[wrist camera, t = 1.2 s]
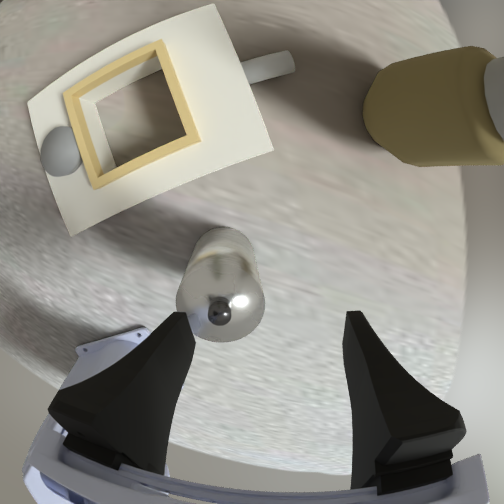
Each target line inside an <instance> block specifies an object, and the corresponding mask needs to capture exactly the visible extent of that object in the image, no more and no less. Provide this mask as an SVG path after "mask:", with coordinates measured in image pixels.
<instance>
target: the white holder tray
mask: <svg viewBox="0 0 504 504" xmlns="http://www.w3.org/2000/svg"><path fill="white" fill-rule="evenodd" d="M161 69H163V72H164V75H165V78H166V80H167V83H168V86H169V89H170V91H171V94H172V97H173V99H174V102H175V105H176V108H177V110H178V113H179V116H180V118H181V121H182V124H183V126H184V129H185V132H186V134H187V135H186V136H184V137H181V138H179V139H177V140H174V141H172V142H170V143H167V144H165V145H163V146H161V147H158V148H156V149H154V150H152V151H150V152H148V153H145V154H143V155H141V156H139V157H137V158H135V159H133V160H131V161H129V162H127V163H125V164H123V165H121V166H119V167H117V166H116V164H115V161H114V158H113V156H112V153H111V150H110V147H109V144H108V141H107V139H106V136H105V133H104V130H103V127H102V124H101V120H100V117H99V114H98V111H97V108H96V104H95V103H96V102H98V101H100V100H102V99H103V98H105V97H107V96H109V95H110V94H112V93H114V92H116V91H118V90H120V89H122V88H123V87H125V86H127V85H129V84H131V83H133V82H135V81H137V80H139V79H141V78H143V77H146V76H148V75H150V74H152V73H154V72H156V71H159V70H161ZM293 72H295V64H294V60H293V58H292V56H291V54H290V52H289V51H287V50H286V51H282V52H277V53H273V54H269V55H265V56H261V57H258V58H254V59H250V60H247V61H243V62H240V61H239V58H238V56H237V54H236V51H235V49H234V47H233V44H232V42H231V40H230V37H229V35H228V33H227V31H226V28H225V26H224V24H223V22H222V19H221V17H220V15H219V13H218V11H217V8H216V6H215V4H214V3H213V4H210V5H206V6H203V7H200V8H197V9H194V10H191V11H188V12H185V13H182V14H180V15H177V16H174V17H172V18H169V19H167V20H164V21H162V22H159V23H157V24H154V25H152V26H150V27H148V28H145V29H143V30H141V31H139V32H137V33H135V34H133V35H131V36H128V37H126V38H124V39H123V40H121V41H119V42H117V43H115V44H113V45H111V46H109V47H107V48H106V49H104V50H102V51H100V52H99V53H97V54H95V55H94V56H92V57H90V58H89V59H87V60H85V61H84V62H82V63H81V64H79V65H77V66H76V67H74V68H73V69H71V70H70V71H68V72H67V73H65V74H64V75H63V76H61V77H60V78H58V79H57V80H55V81H54V82H53V83H51V84H50V85H49V86H47V87H46V88H45V89H43V90H42V91H41V92H40V93H38V94H37V95H36V96H35V97H33V98H32V99H31V100H30V101H28V102H27V103H28V108H29V113H30V117H31V122H32V126H33V130H34V134H35V138H36V141H37V145H38V149H39V152H40V156H41V163H42V166H43V168H44V169H45V172H46V175H47V178H48V181H49V184H50V186H51V189H52V192H53V195H54V197H55V200H56V203H57V205H58V208H59V210H60V213H61V216H62V218H63V220H64V223H65V225H66V228H67V230H68V232H69V235H70V237H72V236H74V235H76V234H78V233H80V232H82V231H83V230H85V229H87V228H89V227H91V226H93V225H95V224H97V223H99V222H101V221H103V220H105V219H107V218H109V217H111V216H113V215H115V214H117V213H119V212H121V211H123V210H126V209H128V208H130V207H132V206H134V205H136V204H138V203H141V202H143V201H145V200H147V199H149V198H152V197H154V196H156V195H158V194H161V193H163V192H165V191H168V190H170V189H172V188H175V187H177V186H179V185H182V184H184V183H187V182H189V181H192V180H194V179H196V178H199V177H202V176H204V175H207V174H209V173H212V172H214V171H217V170H220V169H222V168H225V167H228V166H230V165H233V164H236V163H238V162H241V161H244V160H247V159H250V158H253V157H255V156H258V155H261V154H264V153H267V152H270V151H273V150H274V149H273V146H272V143H271V140H270V138H269V135H268V132H267V129H266V127H265V124H264V121H263V119H262V116H261V113H260V111H259V108H258V106H257V103H256V100H255V98H254V95H253V93H252V90H251V88H250V85H249V84H252V83H256V82H259V81H263V80H266V79H270V78H274V77H277V76H281V75H285V74H289V73H293Z"/></svg>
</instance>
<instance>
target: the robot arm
mask: <svg viewBox="0 0 504 504" xmlns="http://www.w3.org/2000/svg"><path fill="white" fill-rule="evenodd" d="M137 333H140V334H141V335H138V334H137ZM195 344H196V342H195V339H194V336H193V333H192V330H191V327H190V324H189V321H188V318H187V314H186V312H173V313H172V314H171V315H170V316H169V317H168V318H167V319H166V320H165V321H164V322H163V323H161V324H160V325H159V326H158V327H157V328H156V329H155V330H154V331H153V332H152V333H151V334H150V332H149V330H148V329H146V328H144V327H142V328H138V329H135V330H132V331H128V332H125V333H122V334H118V335H115V336H111V337H108V338H105V339H101V340H98V341H94V342H91V343H87V344H83V345H80V346H77V347H76V348H75V351H76V353H77V354H78V356H79V358H78V360H77V361H76V363H75V364H74V366H73V367H72V369H71V371H70V372H69V374H68V376H67V377H66V379H65V380H64V382H63V384H62V385H61V387H60V389H59V391H58V392H57V394H56V396H55V397H54V399H53V401H52V402H51V404H50V406H49V408H48V411H49V414H48V415H47V417H46V418H45V420H44V422H43V423H42V425H41V427H40V429H39V431H38V432H37V434H36V436H35V438H34V440H33V442H32V444H31V447H30V449H29V451H28V455H27V457H26V459H25V462H24V464H23V468H22V472H23V481H24V483H25V485H26V487H27V488H28V490H29V492H30V493H31V495H32V496H33V498H34V499H35V501H36V502H37V504H194V503H190V502H185V501H181V500H177V499H173V498H170V497H169V496H168V494H169V493H170V494H173V495H177V496H182V497H187V498H191V499H196V500H201V501H206V502H212V503H218V504H488V503H489V502H490V500H489V493H488V487H487V481H486V476H485V471H484V467H483V462H482V457H481V454H477V455H475V456H472V457H469V458H466V459H464V460H461V461H458V462H456V463H454V464H452V465H451V461H450V459H451V458H453V453H452V449H453V448H454V447H455V446H456V445H457V444H458V443H459V442H460V441H461V440H462V439H463V437H464V436H465V434H466V428H465V424H464V421H463V418H462V416H461V414H460V411H459V410H457V409H455V408H454V407H452V406H450V405H448V404H447V403H445V402H444V401H442V400H441V399H439V398H438V397H436V396H435V395H434V394H432V393H431V392H430V391H428V390H427V389H426V388H425V387H424V386H422V385H421V384H420V383H419V382H417V381H416V380H415V379H414V378H413V377H412V376H411V375H410V374H409V373H408V372H407V371H406V370H405V369H404V368H403V367H402V366H401V365H400V364H399V362H398V361H397V360H396V359H395V358H394V357H393V355H392V354H391V353H390V352H389V351H388V349H387V348H386V347H385V345H384V344H383V343H382V341H381V340H380V339H379V337H378V336H377V334H376V333H375V332H374V330H373V329H372V327H371V326H370V324H369V323H368V321H367V319H366V318H365V316H364V314H363V313H362V312H361V311H347V313H346V321H345V329H344V336H343V343H342V345H343V359H344V368H345V373H346V379H347V384H348V390H349V396H350V402H351V409H352V429H353V455H352V477H351V489H350V490H341V491H327V492H299V493H298V492H295V493H294V492H265V491H251V490H241V489H232V488H224V487H217V486H211V485H205V484H199V483H193V482H189V481H184V480H180V479H175V478H171V477H170V475H169V470H168V467H167V464H166V463H165V462H166V453H167V446H168V440H169V434H170V429H171V424H172V419H173V415H174V411H175V406H176V403H177V400H178V397H179V394H180V392H181V389H183V386H184V385H183V384H184V381H185V378H186V376H187V373H188V370H189V368H190V365H191V362H192V358H193V354H194V349H195ZM85 348H86V349H87V350H86V349H85Z"/></svg>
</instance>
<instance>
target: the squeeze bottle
mask: <svg viewBox="0 0 504 504" xmlns="http://www.w3.org/2000/svg"><path fill="white" fill-rule="evenodd" d="M362 116H363V119H364V123H365V126H366V129H367V131H368V132H369V134H370V135H371V137H372V138H373V140H374V141H375V142H377V143H378V144H379V145H381V146H382V147H383V148H385V149H386V150H387V151H389V152H390V153H391V154H393V155H394V156H395V157H397V158H398V159H399V160H401V161H402V162H403V163H407V164H411V165H414V166H418V167H430V166H460V165H503V164H504V57H501V58H496V57H495V56H494V55H492V54H491V53H490V52H488V51H487V50H485V49H484V48H479V47H474V46H468V47H462V48H456V49H451V50H445V51H441V52H436V53H431V54H427V55H423V56H418V57H414V58H410V59H407V60H403V61H399V62H395V63H392V64H390V65H389V66H387V67H386V68H384V69H382V70H381V71H379V72H378V74H377V76H376V78H375V80H374V82H373V83H372V85H371V87H370V89H369V91H368V93H367V95H366V97H365V100H364V102H363V114H362Z"/></svg>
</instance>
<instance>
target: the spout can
mask: <svg viewBox="0 0 504 504" xmlns="http://www.w3.org/2000/svg"><path fill="white" fill-rule="evenodd" d="M176 309H177V312H186V314H187V318H188V321H189V324H190V327H191V330H192V333H193V334H194V335H196V336H198V337H200V338H202V339H205V340H208V341H212V342H231V341H235V340H238V339H241V338H243V337H245V336H247V335H248V334H250V333H251V332H252V331H253V330H254V329H255V328H256V327H257V326H258V324H259V323H260V321H261V319H262V317H263V314H264V310H265V299H264V294H263V289H262V285H261V281H260V276H259V272H258V267H257V263H256V259H255V254H254V250H253V247H252V244H251V242H250V241H249V239H248V238H247V237H246V236H245V235H244V234H243V233H241V232H240V231H238V230H236V229H233V228H228V227H219V228H215V229H212V230H209V231H208V232H206V233H205V234H203V235H202V236H201V237H200V239H199V240H198V241H197V243H196V245H195V248H194V250H193V253H192V255H191V258H190V260H189V263H188V265H187V268H186V271H185V273H184V276H183V278H182V281H181V283H180V286H179V289H178V292H177V295H176Z"/></svg>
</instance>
